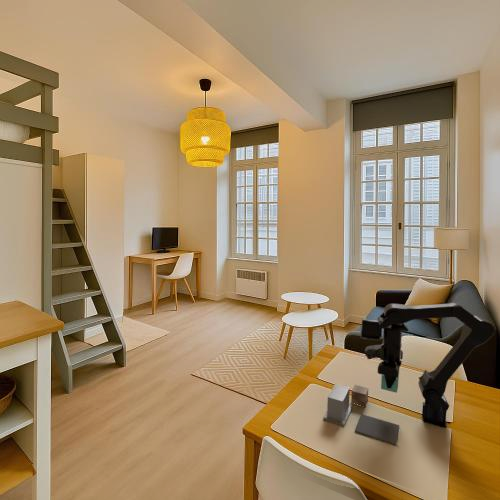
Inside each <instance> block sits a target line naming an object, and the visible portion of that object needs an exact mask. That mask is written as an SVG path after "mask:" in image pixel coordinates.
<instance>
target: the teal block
mask: <svg viewBox="0 0 500 500" xmlns="http://www.w3.org/2000/svg"><path fill="white" fill-rule="evenodd" d="M399 377H400V375H399V376H398V378H396V380H395V382H394V384H393V385H392V387H391V389H389V388H387V385H386V380H385V376H384V375H382V374H381V377H380V378H381V379H380V380H381V381H380V382H381V384H380V389H381V390H385V391H387V392H392V393H398V389H399V380H400V378H399Z"/></svg>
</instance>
